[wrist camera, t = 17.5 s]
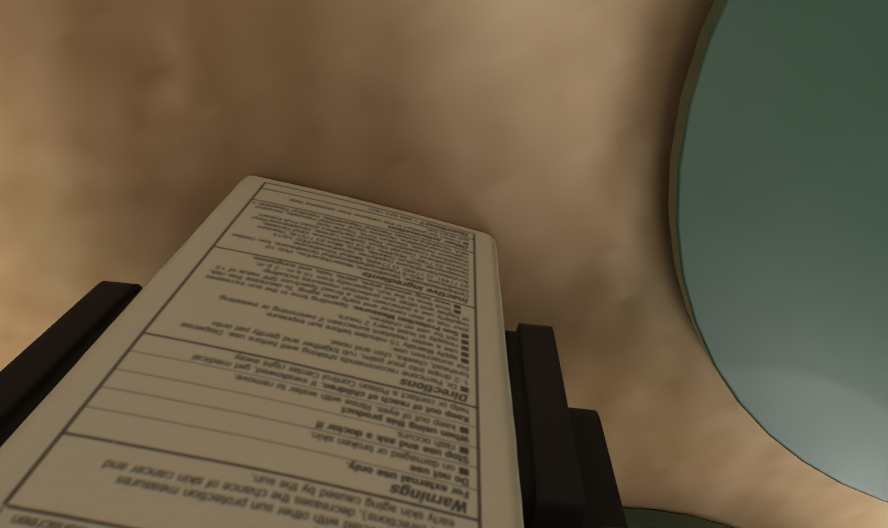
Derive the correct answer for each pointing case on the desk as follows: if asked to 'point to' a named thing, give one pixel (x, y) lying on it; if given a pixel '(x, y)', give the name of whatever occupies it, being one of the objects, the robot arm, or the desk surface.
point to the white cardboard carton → (287, 382)
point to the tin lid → (791, 222)
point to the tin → (665, 520)
